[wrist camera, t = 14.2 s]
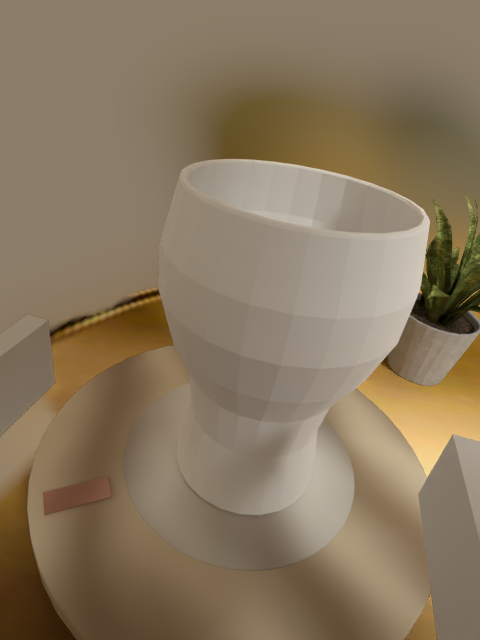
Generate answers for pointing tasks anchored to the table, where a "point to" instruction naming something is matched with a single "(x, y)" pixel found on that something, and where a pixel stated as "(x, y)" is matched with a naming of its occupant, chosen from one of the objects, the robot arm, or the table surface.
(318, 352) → the cup
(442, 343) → the house plant
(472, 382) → the table surface
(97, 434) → the turntable platter
